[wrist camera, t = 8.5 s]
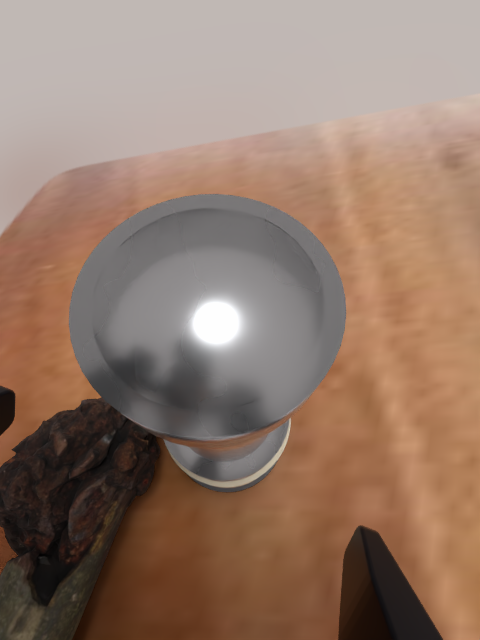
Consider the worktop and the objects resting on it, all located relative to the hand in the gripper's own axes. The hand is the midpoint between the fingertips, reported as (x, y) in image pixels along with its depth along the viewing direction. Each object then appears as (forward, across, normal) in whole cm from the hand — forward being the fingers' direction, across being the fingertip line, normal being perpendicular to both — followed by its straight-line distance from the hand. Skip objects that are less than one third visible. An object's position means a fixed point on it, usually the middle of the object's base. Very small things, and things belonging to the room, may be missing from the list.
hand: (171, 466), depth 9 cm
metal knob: (+8, 0, +4) cm, 9 cm away
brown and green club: (+6, +6, +14) cm, 16 cm away
